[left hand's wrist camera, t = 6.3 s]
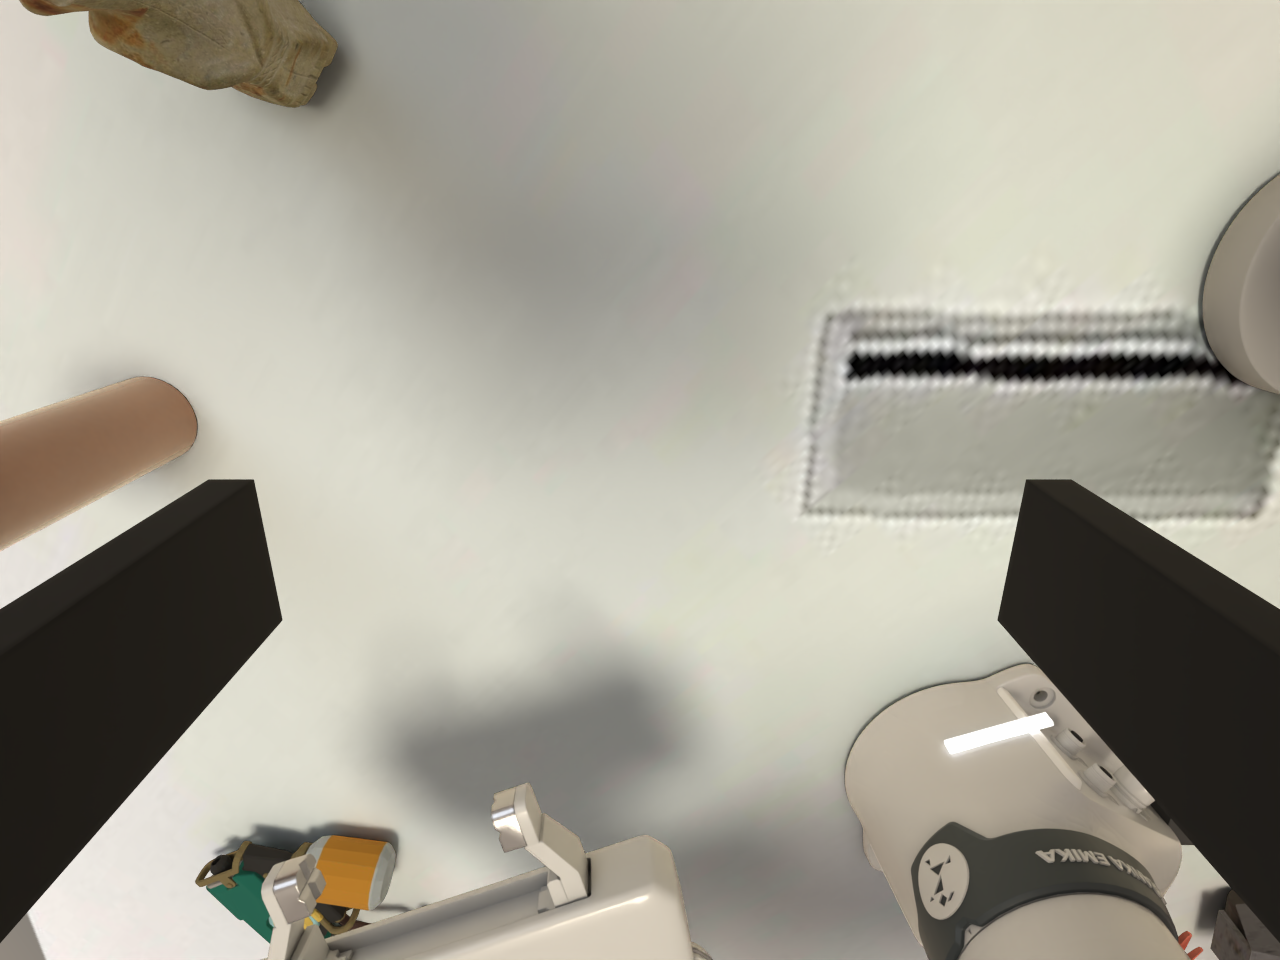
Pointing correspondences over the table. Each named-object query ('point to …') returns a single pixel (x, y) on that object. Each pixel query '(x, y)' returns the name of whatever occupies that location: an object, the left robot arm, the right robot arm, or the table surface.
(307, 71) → the sculpture
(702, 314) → the table surface
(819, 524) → the table surface
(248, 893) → the spray gun
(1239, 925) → the toy
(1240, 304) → the bust sculpture
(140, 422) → the jar
